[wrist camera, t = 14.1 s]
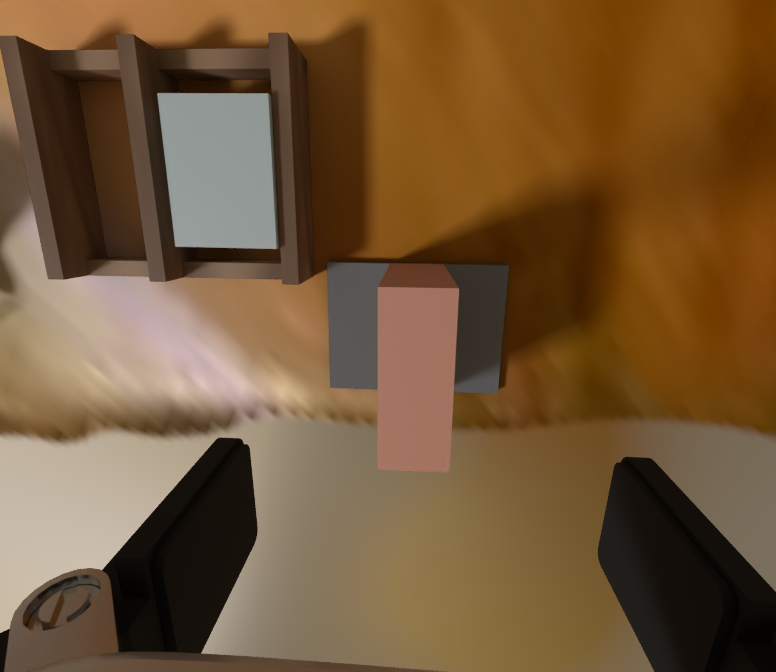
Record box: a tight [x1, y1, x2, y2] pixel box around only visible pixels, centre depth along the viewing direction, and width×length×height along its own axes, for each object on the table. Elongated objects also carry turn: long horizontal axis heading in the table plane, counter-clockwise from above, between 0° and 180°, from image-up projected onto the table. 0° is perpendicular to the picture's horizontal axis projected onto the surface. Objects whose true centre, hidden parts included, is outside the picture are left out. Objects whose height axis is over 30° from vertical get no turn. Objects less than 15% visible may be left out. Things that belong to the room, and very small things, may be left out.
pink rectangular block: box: [378, 263, 459, 472], centre depth 24 cm, size 4×9×10 cm, turn 179°
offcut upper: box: [157, 93, 280, 249], centre depth 24 cm, size 6×8×2 cm
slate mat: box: [327, 262, 509, 394], centre depth 29 cm, size 12×9×1 cm
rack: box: [0, 33, 314, 285], centre depth 26 cm, size 16×13×4 cm
